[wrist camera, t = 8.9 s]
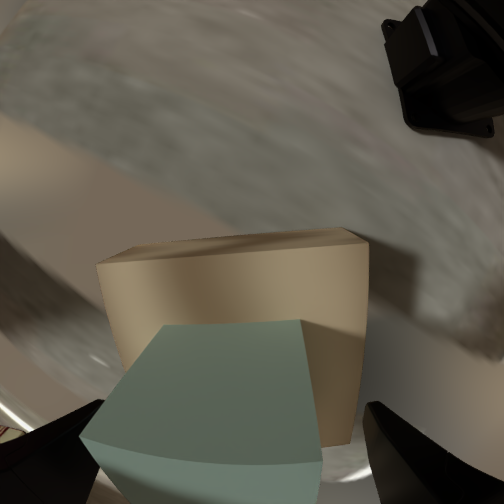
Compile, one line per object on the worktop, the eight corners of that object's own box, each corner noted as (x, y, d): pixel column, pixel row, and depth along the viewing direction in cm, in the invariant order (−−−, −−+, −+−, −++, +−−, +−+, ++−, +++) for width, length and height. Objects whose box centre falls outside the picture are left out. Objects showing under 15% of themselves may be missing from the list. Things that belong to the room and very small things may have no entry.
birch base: (341, 227, 13) (368, 242, 9) (337, 395, 15) (349, 443, 11) (138, 244, 14) (95, 264, 10) (175, 400, 16) (156, 443, 12)
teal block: (299, 319, 10) (322, 460, 4) (301, 418, 11) (309, 536, 5) (163, 324, 10) (78, 435, 4) (190, 418, 11) (151, 524, 5)
